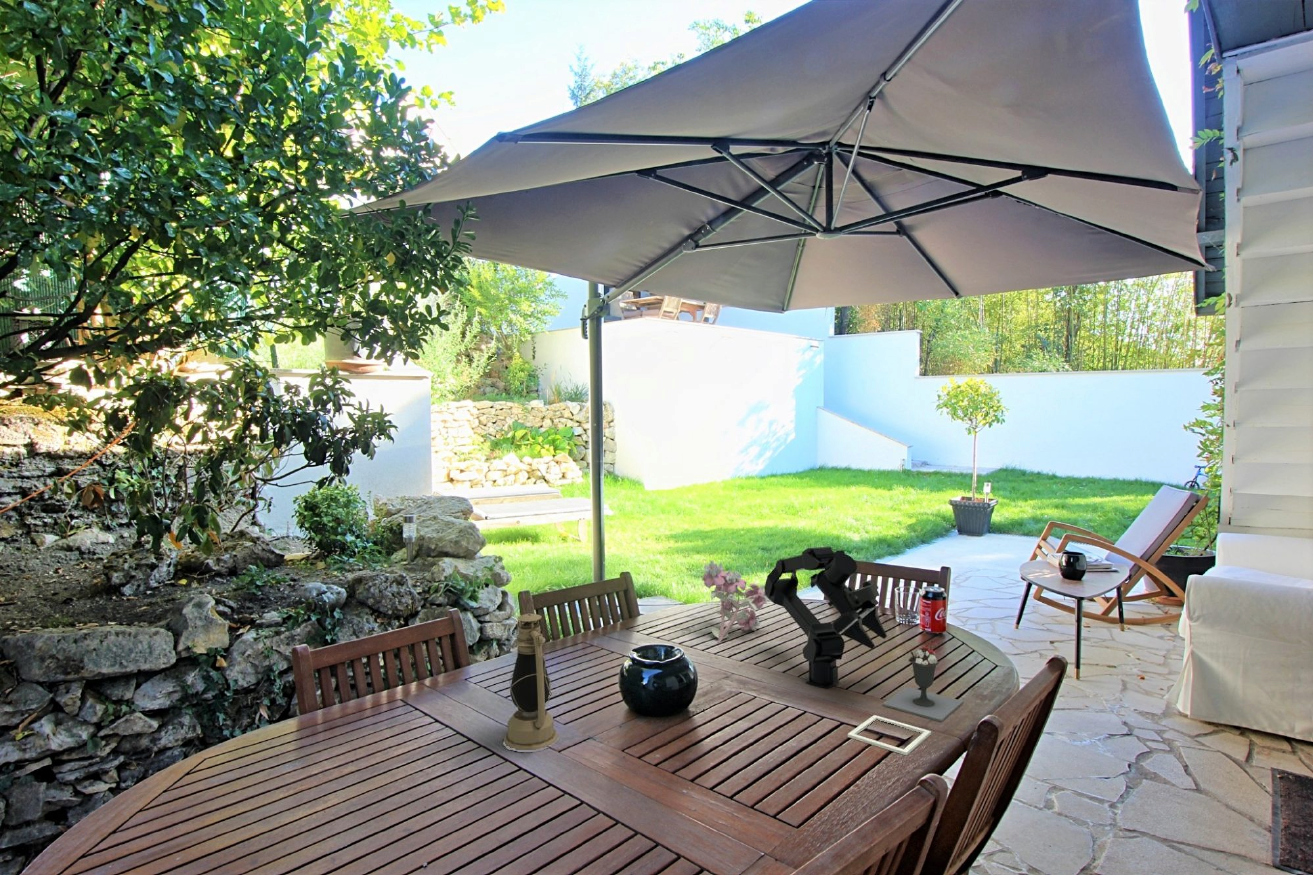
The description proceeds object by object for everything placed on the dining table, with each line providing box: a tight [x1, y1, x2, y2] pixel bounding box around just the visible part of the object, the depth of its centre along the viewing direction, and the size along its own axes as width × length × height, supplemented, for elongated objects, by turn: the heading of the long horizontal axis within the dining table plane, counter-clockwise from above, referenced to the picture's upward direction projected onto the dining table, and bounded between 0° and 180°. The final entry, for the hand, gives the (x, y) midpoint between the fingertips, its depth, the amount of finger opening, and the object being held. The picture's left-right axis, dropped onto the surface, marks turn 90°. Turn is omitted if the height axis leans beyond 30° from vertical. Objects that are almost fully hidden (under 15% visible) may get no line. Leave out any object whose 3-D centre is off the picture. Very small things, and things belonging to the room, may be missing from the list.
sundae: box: [908, 639, 940, 707], centre depth 173 cm, size 7×7×15 cm
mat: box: [881, 686, 964, 723], centre depth 174 cm, size 14×14×1 cm
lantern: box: [503, 600, 558, 750], centre depth 156 cm, size 14×12×30 cm
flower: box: [701, 559, 771, 643], centre depth 228 cm, size 20×22×25 cm
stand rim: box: [847, 714, 932, 756], centre depth 157 cm, size 13×13×1 cm
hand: (879, 642), depth 178 cm, fingers open, 9 cm apart
